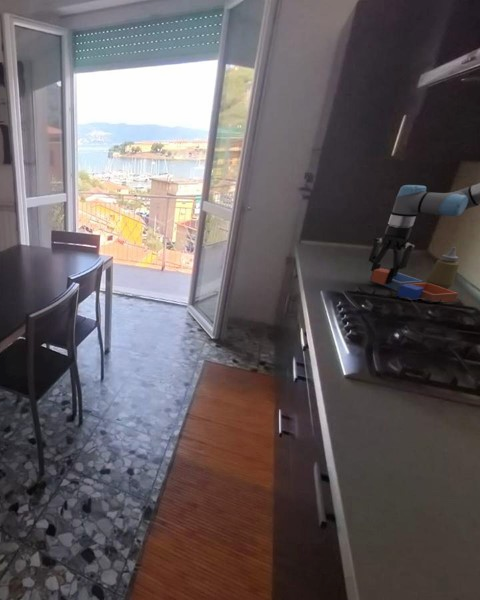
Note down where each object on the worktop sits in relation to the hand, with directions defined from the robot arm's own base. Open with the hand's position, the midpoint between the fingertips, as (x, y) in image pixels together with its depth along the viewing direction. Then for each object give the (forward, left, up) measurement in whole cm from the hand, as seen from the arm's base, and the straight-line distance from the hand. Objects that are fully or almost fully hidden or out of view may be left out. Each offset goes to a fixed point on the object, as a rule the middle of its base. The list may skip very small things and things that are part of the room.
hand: (380, 281), depth 150 cm
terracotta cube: (0, 0, 0) cm, 0 cm away
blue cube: (-13, 0, -3) cm, 13 cm away
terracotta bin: (-12, -9, -3) cm, 16 cm away
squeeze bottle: (-7, -21, -3) cm, 22 cm away
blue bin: (+1, -9, -3) cm, 9 cm away
